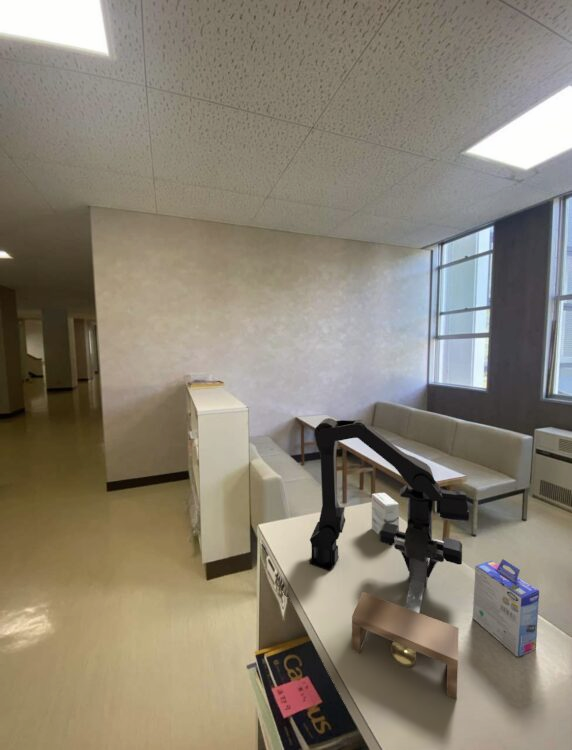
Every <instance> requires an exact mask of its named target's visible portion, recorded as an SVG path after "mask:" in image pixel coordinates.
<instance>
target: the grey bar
mask: <svg viewBox="0 0 572 750" xmlns="http://www.w3.org/2000/svg"><path fill="white" fill-rule="evenodd" d="M429 560H430V558H427V561H425V562H421V561H419V560H416V559H413V558H409V571H408V577H409V578H408V583H409V587H408V592H407V595H406V600H405V605H404V608H407V609H410V610H412V611H415V612H418V613H420V614H421V610H422V609H421V608H422V605H423V604H422V603H423V598H424V592H425V589H427V588H428V587H427V586H428V582H429V578H428V577H427V571H428V565H429Z"/></svg>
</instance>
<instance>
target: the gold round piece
mask: <svg viewBox="0 0 572 750" xmlns="http://www.w3.org/2000/svg"><path fill="white" fill-rule="evenodd" d="M390 647H391V648H390V649H391V650H390V652H391V658H392V659H393V661H394V662H395V664H397V665H398V666H400V667H402V668H404V669H410V668H413V667H414V666H416V663H417V651H415V650H412V649H410V648H408V647H406V646H403V645H401V644H399V643H396V642H394V641H392V643H391V646H390Z"/></svg>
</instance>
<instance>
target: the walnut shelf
mask: <svg viewBox="0 0 572 750" xmlns="http://www.w3.org/2000/svg"><path fill="white" fill-rule="evenodd" d="M358 599H359V600H358V601H357V603H356V606H355V608H354V611H353V613H352V615H351V650H352V651H354V652H355V653H358V654H360V653H361V651H362V648H363V644H364V641H365V639H366V636H367V634H368V631H369V632H371V633H374V634H376V635H377V636H381V637H383V638H385V639H387V640H389V641H392V642H396V643H399V644H401V645H403V646H406V647H408V648H410V649H412V650H415V651H416V653H417V652H418V653H420V654H422V655H424V656H426V657H429V658H431V659H433V660H436V661H438V662H440V663H443V664H446V666H447V667H446V669H447V670H446V671H447V672H446V695H447V696H448V697H451V698H453V699H454V700H457V699H458V698H457V697H458V696H457V695H458V672H459V671H458V668H459V667H458V665H459V630H460V629H459V627H457V626H455V625H452V624H449V623H447V622H444V621H441V620H440V619H436V618H433V617H430V616H427V615H425V614H422V613H421V612H420V613H418V612H415V611H412V610H410V609H407V608H405V606H402V605H398V604H396V603H393V602H390V601H388V600H386V599H382V598H380V597H377V596H374V595H372V594H370V593H367V592H363V591H362V592H361V594H360V597H359V598H358Z"/></svg>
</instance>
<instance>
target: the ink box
mask: <svg viewBox="0 0 572 750" xmlns="http://www.w3.org/2000/svg"><path fill="white" fill-rule="evenodd" d="M399 520H400V504H399V503H398V502H397V501H396V500H395V499H393V498H392V497H391V496H390V495H389V494H387V493H386V492H376V493H371V529H372V530H373V531H374V533H376V535H378V536H379V533H380V530H381V528H382V526H383V524H384V523H385V522H386V523H390V524H394V525H398V526H399V527H400V521H399Z"/></svg>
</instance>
